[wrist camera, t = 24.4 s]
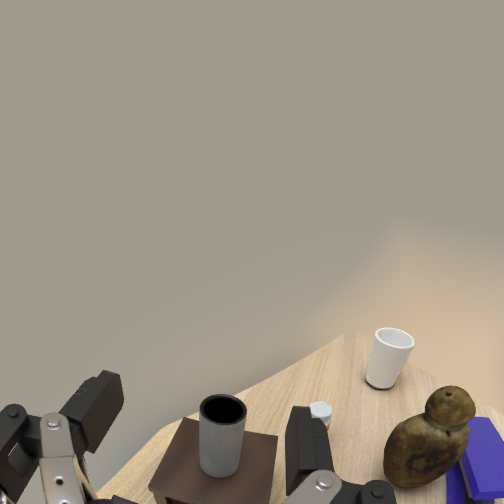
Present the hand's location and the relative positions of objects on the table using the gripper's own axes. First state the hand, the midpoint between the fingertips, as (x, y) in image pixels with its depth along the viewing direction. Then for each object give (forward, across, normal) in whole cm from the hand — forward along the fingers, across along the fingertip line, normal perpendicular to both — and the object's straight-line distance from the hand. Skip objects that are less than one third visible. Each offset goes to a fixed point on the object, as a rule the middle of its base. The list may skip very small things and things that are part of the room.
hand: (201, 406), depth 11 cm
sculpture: (+14, -30, +31) cm, 45 cm away
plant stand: (+11, 0, +31) cm, 33 cm away
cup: (+43, -34, +31) cm, 63 cm away
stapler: (+11, -44, +31) cm, 55 cm away
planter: (+11, 0, +21) cm, 24 cm away
